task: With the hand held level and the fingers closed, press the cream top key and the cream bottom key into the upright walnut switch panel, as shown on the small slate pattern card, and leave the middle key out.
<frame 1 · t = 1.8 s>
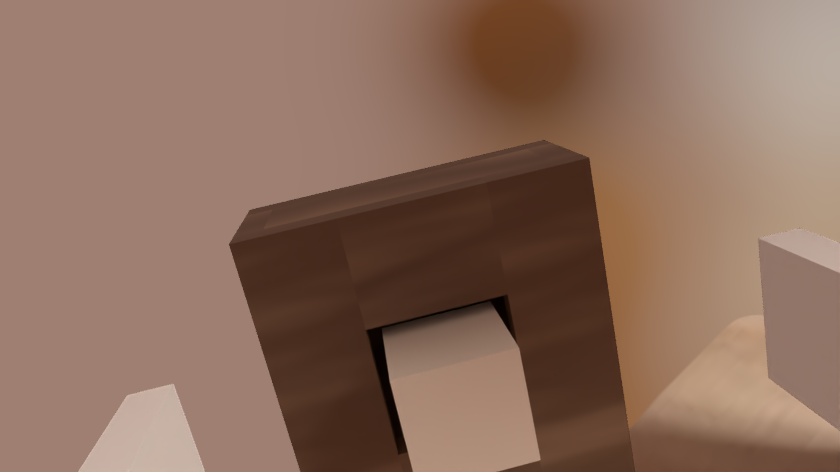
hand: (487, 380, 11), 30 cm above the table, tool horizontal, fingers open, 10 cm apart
top key: (456, 390, 22), point 24 cm above the table, slide at 0.0 cm
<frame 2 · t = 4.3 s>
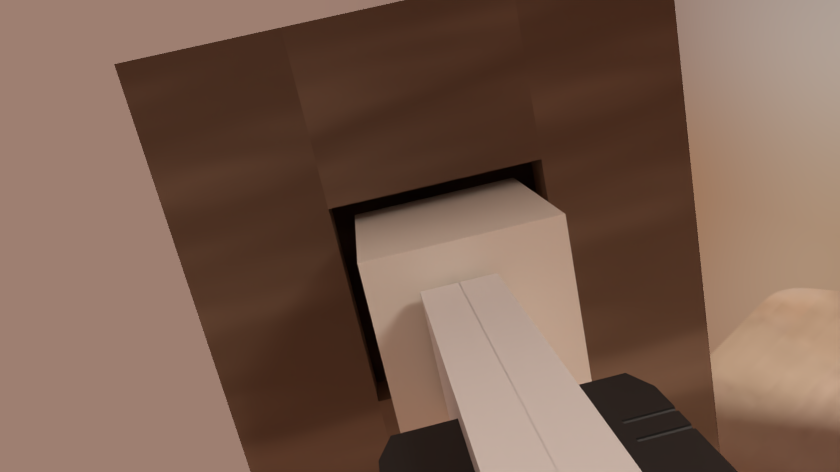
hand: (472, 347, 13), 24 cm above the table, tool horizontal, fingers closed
top key: (464, 299, 15), point 24 cm above the table, slide at 0.0 cm, touching gripper
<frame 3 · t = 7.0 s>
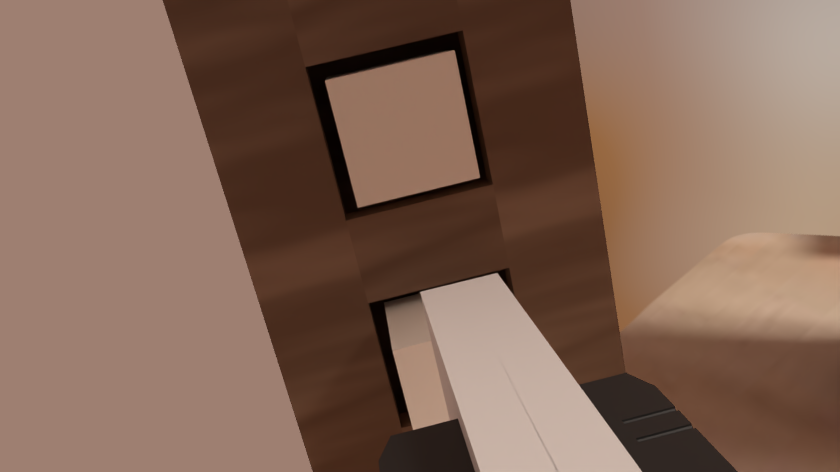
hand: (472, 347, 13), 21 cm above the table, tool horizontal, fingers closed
middle key: (458, 362, 22), point 16 cm above the table, slide at 0.0 cm
top key: (399, 124, 22), point 25 cm above the table, slide at 2.2 cm
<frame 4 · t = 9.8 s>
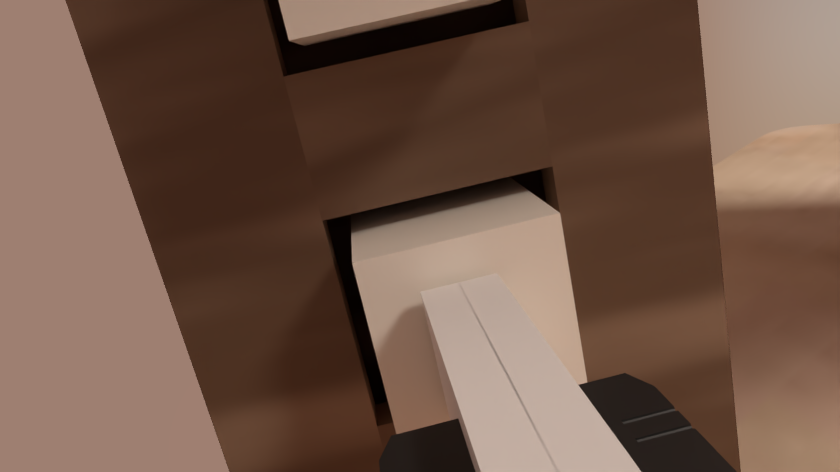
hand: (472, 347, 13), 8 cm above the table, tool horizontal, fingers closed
bottom key: (459, 298, 15), point 8 cm above the table, slide at 1.2 cm
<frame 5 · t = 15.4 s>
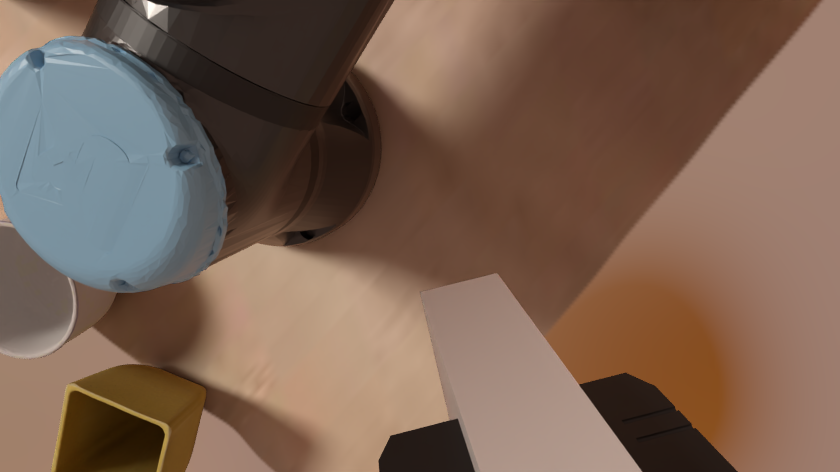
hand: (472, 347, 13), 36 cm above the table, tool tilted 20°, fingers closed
flower pot: (176, 400, 57), on the table
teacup: (68, 268, 57), on the table
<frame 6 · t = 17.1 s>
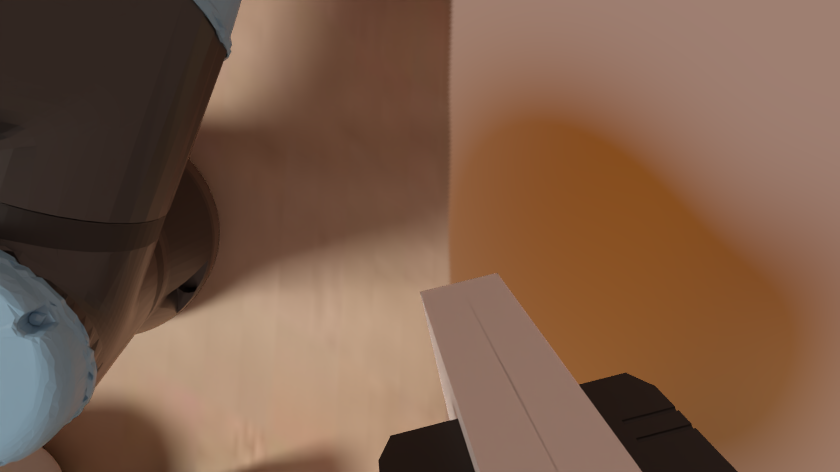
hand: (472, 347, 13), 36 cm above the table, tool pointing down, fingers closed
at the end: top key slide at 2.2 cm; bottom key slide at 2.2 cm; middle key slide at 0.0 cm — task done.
